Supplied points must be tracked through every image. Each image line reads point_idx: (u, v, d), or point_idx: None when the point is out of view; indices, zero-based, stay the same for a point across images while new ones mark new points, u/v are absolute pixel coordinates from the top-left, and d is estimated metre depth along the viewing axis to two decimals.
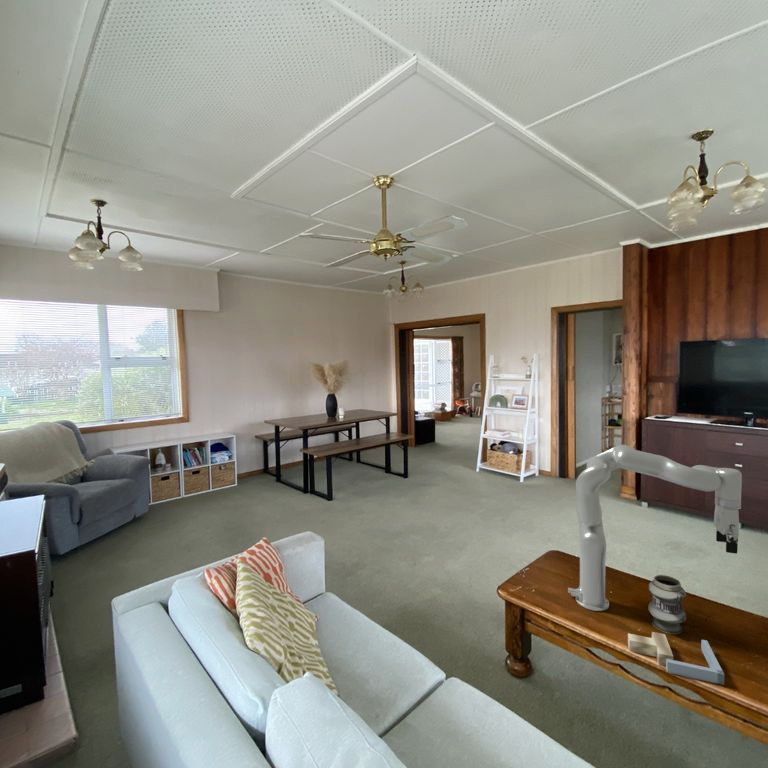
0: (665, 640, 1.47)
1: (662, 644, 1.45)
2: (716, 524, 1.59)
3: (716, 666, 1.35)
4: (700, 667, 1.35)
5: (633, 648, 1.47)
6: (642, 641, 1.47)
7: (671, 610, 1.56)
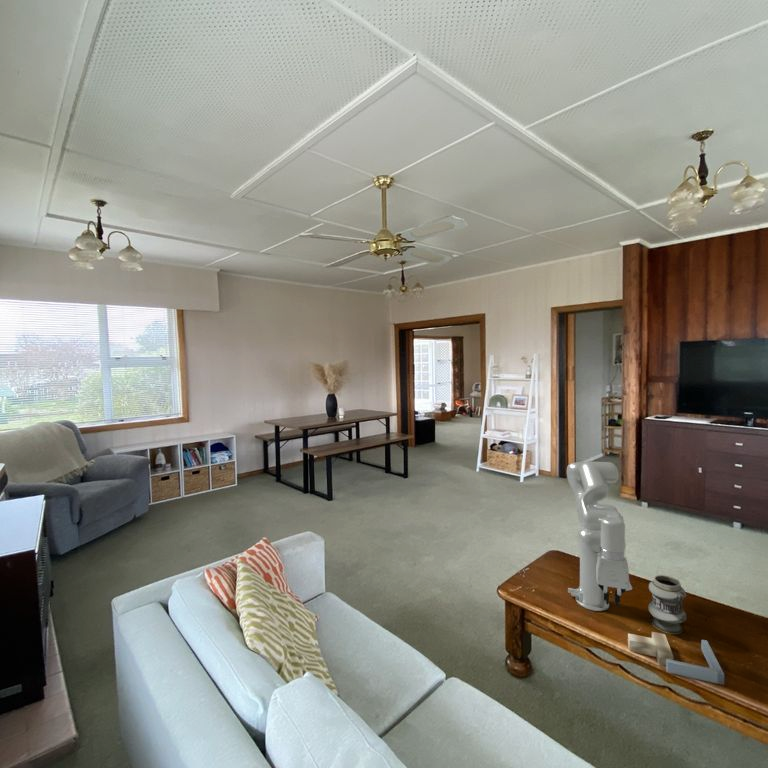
0: (665, 640, 1.47)
1: (662, 644, 1.45)
2: (608, 582, 1.48)
3: (716, 666, 1.35)
4: (700, 667, 1.35)
5: (633, 648, 1.47)
6: (642, 641, 1.47)
7: (670, 610, 1.56)
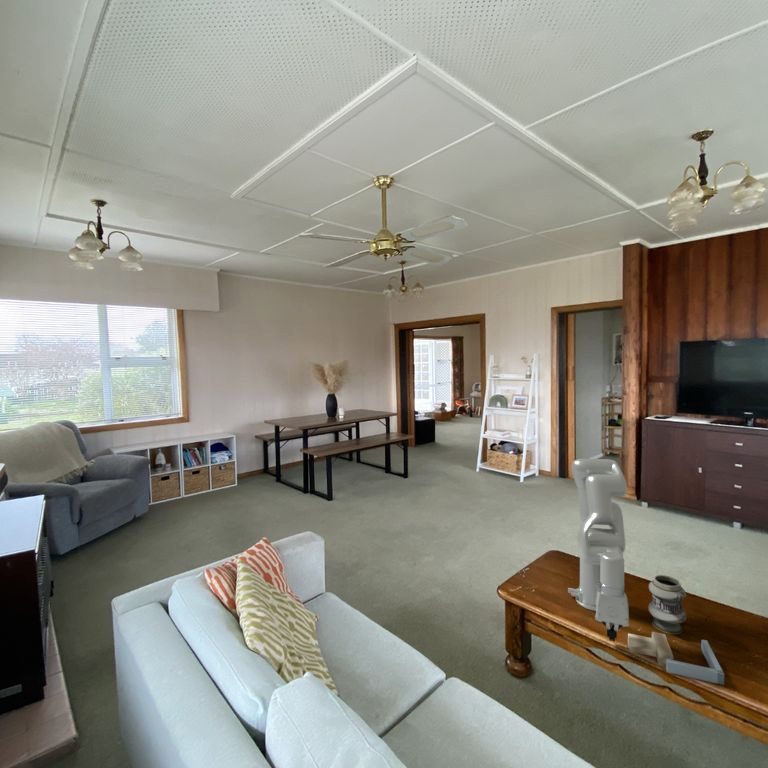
0: (665, 640, 1.47)
1: (662, 644, 1.45)
2: (608, 617, 1.48)
3: (716, 666, 1.35)
4: (700, 667, 1.35)
5: (633, 648, 1.47)
6: (642, 641, 1.47)
7: (671, 610, 1.56)
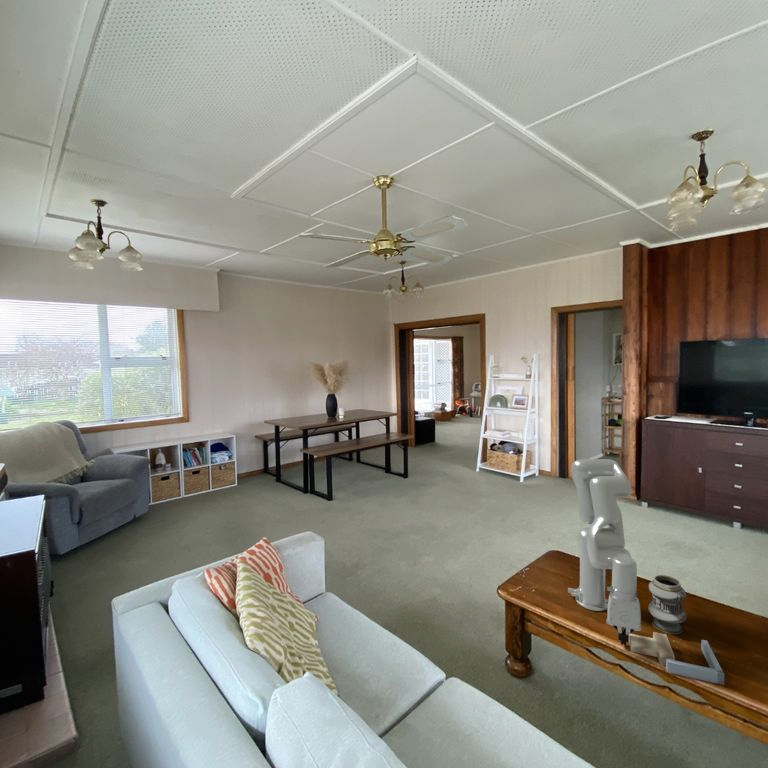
0: (666, 640, 1.47)
1: (663, 644, 1.45)
2: (620, 622, 1.47)
3: (716, 666, 1.35)
4: (700, 667, 1.35)
5: (634, 648, 1.47)
6: (643, 641, 1.47)
7: (671, 610, 1.56)
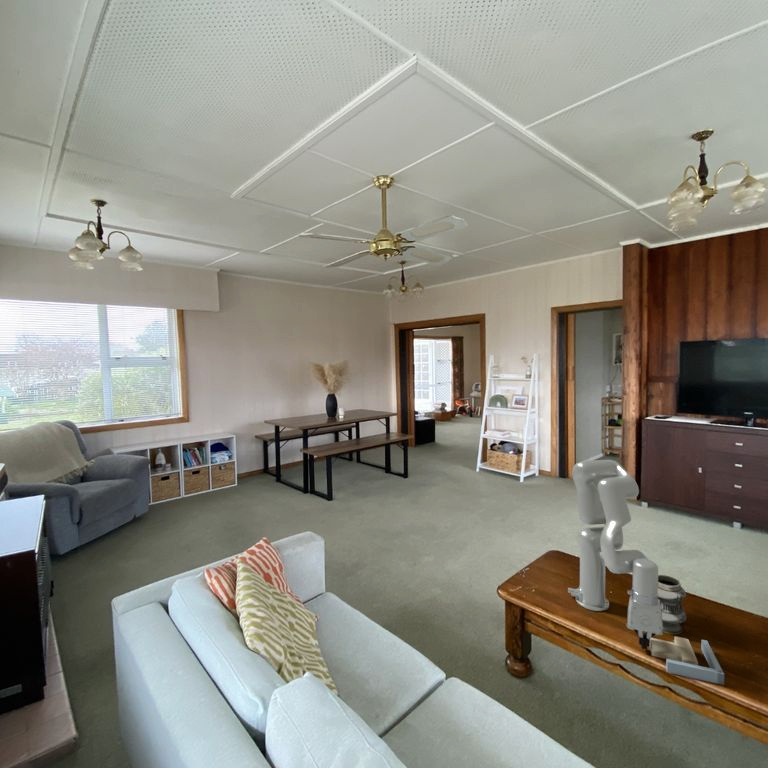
0: (689, 645, 1.44)
1: (685, 649, 1.42)
2: (641, 626, 1.45)
3: (716, 666, 1.35)
4: (700, 667, 1.35)
5: (656, 653, 1.45)
6: (665, 646, 1.44)
7: (670, 610, 1.56)
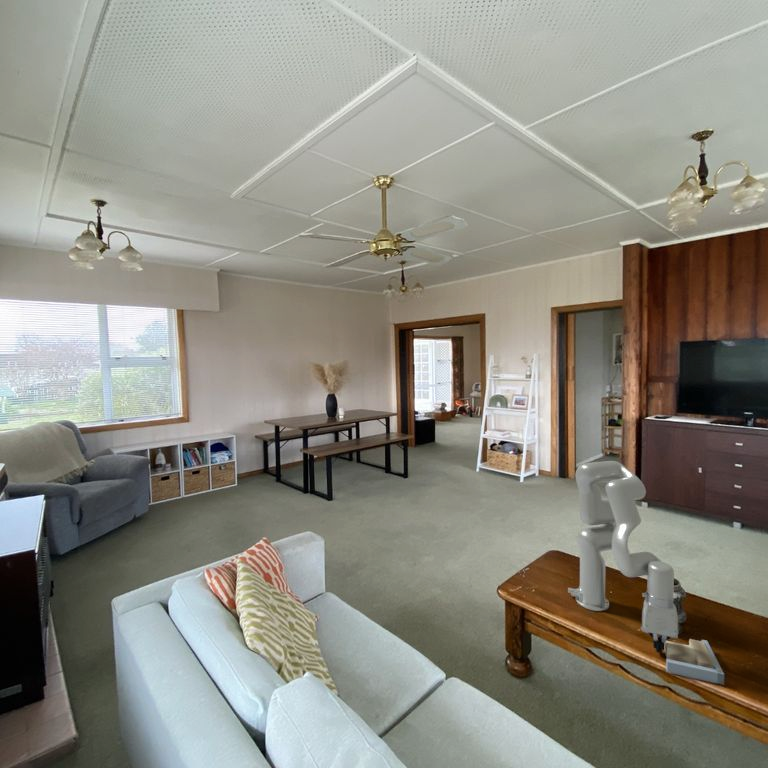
0: (704, 648, 1.43)
1: (701, 652, 1.41)
2: (656, 629, 1.43)
3: (716, 666, 1.35)
4: (700, 667, 1.35)
5: (671, 656, 1.43)
6: (680, 649, 1.43)
7: None
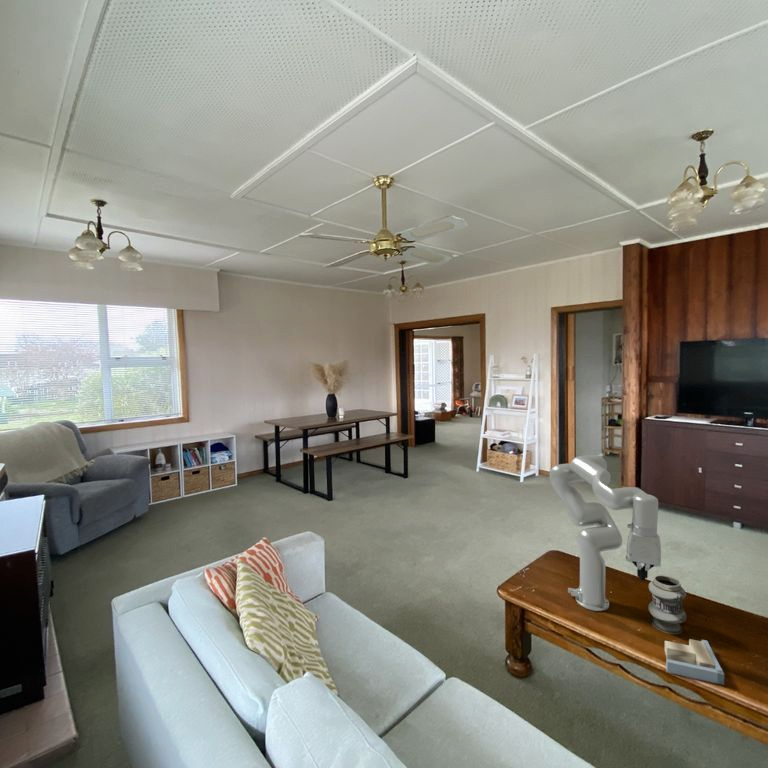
0: (704, 648, 1.43)
1: (701, 652, 1.41)
2: (640, 558, 1.48)
3: (716, 666, 1.35)
4: (700, 667, 1.35)
5: (671, 656, 1.43)
6: (680, 649, 1.43)
7: (671, 610, 1.56)
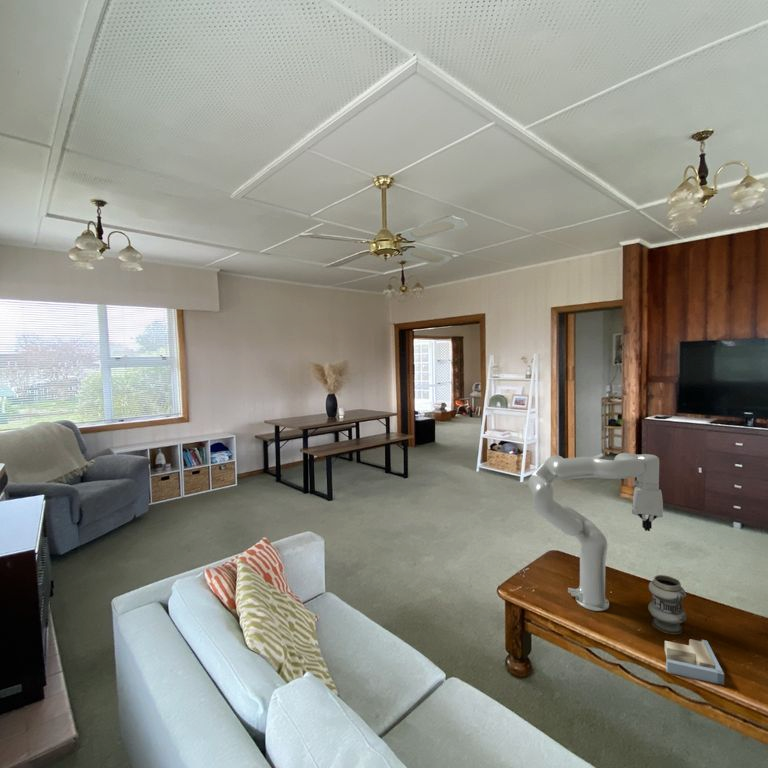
0: (704, 648, 1.43)
1: (701, 652, 1.41)
2: (644, 510, 1.69)
3: (716, 666, 1.35)
4: (700, 667, 1.35)
5: (671, 656, 1.43)
6: (680, 649, 1.43)
7: (671, 610, 1.56)
